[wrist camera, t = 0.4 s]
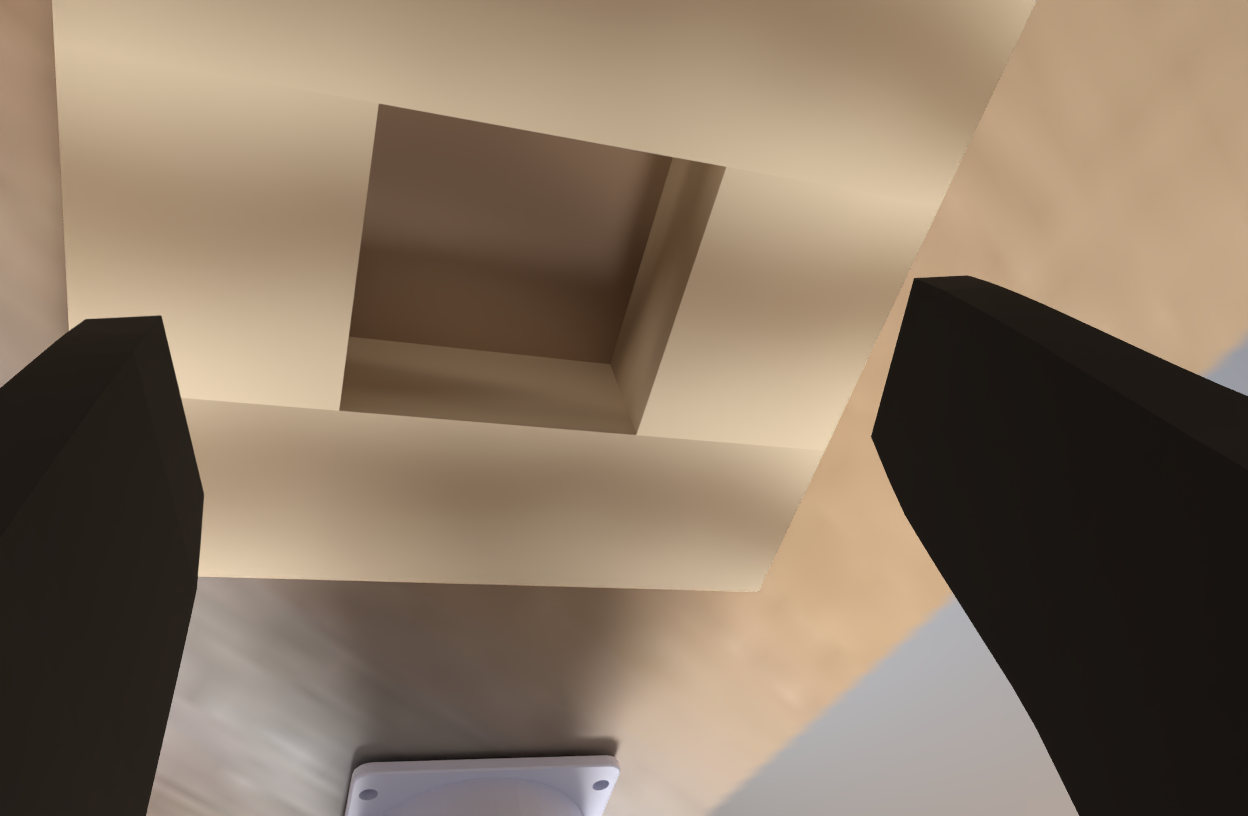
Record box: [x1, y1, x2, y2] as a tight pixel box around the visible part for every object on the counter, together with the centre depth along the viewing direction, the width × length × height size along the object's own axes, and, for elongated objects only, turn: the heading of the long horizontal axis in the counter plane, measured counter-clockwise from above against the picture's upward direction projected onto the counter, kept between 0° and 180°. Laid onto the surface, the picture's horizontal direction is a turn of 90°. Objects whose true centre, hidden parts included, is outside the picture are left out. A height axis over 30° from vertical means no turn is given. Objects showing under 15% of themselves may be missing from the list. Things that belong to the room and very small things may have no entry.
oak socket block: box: [52, 0, 1037, 592], centre depth 18 cm, size 14×14×3 cm
